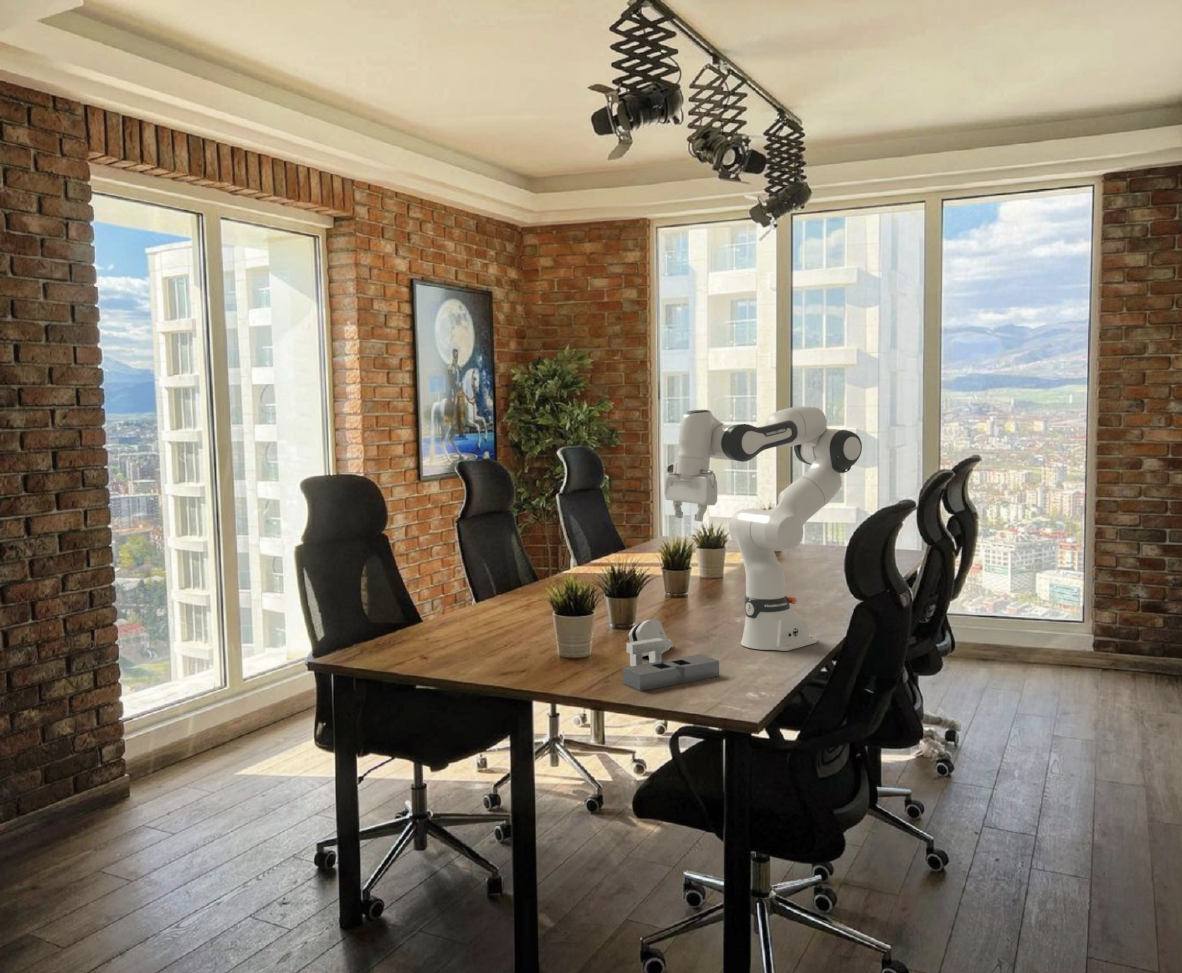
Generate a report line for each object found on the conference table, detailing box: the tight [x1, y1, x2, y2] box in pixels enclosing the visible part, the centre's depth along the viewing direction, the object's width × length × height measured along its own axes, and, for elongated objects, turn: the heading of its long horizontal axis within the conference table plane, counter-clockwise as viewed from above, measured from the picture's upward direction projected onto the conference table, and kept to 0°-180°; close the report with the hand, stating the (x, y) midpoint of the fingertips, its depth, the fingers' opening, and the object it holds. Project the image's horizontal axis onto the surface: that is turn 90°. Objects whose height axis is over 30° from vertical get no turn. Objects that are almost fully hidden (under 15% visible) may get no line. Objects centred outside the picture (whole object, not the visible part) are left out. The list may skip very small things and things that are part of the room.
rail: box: [622, 654, 720, 692], centre depth 248 cm, size 24×8×4 cm, turn 119°
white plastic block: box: [628, 619, 675, 658], centre depth 277 cm, size 17×5×10 cm, turn 153°
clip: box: [625, 638, 665, 667], centre depth 258 cm, size 10×3×8 cm, turn 119°
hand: (688, 519), depth 266 cm, fingers open, 8 cm apart
